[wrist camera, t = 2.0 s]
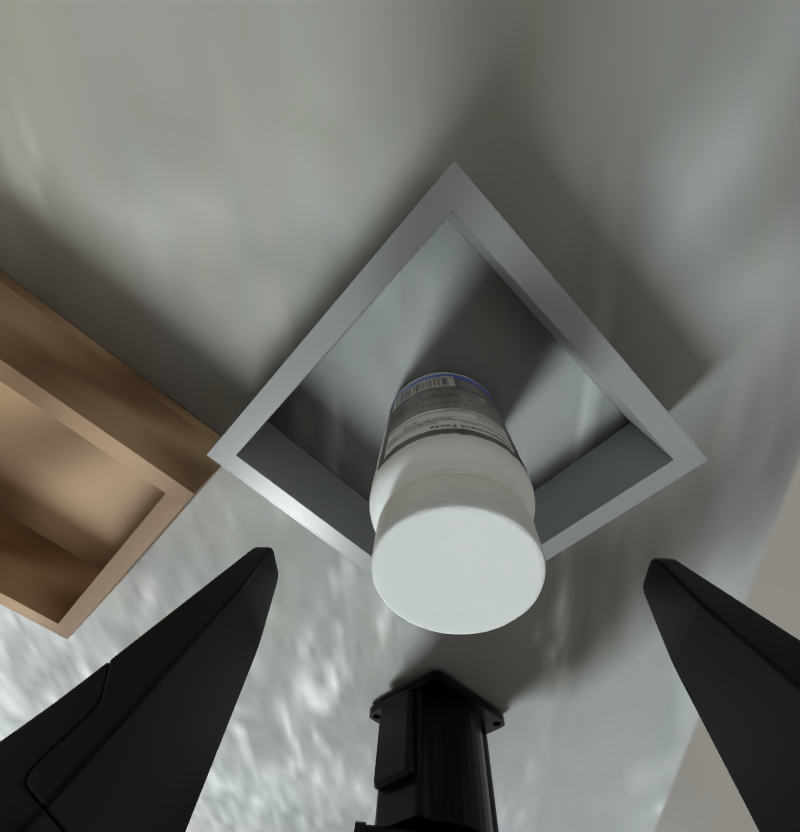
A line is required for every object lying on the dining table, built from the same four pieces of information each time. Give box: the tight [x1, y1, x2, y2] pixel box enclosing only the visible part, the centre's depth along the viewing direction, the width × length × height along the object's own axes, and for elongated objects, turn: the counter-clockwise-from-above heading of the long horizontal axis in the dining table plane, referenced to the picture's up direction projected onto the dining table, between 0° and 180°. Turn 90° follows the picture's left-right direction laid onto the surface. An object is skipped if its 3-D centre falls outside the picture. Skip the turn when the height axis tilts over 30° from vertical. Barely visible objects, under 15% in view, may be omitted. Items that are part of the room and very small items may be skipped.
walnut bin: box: [0, 271, 221, 639], centre depth 16 cm, size 13×13×4 cm
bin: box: [207, 160, 708, 575], centre depth 15 cm, size 13×13×3 cm
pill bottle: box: [369, 372, 546, 634], centre depth 12 cm, size 5×5×8 cm
